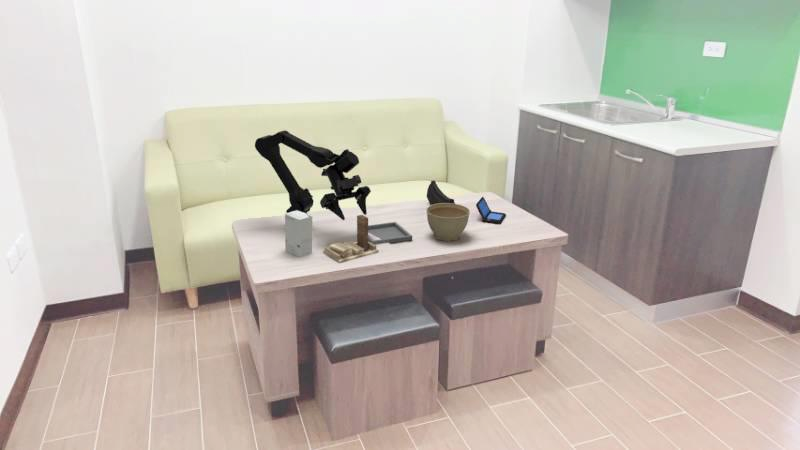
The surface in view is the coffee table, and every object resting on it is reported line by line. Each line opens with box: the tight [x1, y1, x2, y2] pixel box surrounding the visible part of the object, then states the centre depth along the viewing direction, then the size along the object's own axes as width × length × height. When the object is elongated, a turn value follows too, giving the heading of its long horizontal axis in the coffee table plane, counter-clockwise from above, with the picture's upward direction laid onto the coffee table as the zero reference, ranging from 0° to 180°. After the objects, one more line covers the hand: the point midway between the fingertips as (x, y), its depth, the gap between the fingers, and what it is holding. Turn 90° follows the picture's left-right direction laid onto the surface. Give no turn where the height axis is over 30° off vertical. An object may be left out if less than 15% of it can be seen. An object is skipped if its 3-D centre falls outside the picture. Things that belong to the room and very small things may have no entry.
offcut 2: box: [334, 251, 353, 259], centre depth 202 cm, size 4×7×2 cm, turn 42°
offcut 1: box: [329, 241, 352, 255], centre depth 201 cm, size 4×7×2 cm, turn 48°
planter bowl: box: [426, 203, 471, 242], centre depth 220 cm, size 16×16×11 cm
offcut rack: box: [322, 240, 379, 264], centre depth 204 cm, size 16×11×3 cm
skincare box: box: [284, 210, 313, 258], centre depth 202 cm, size 8×6×15 cm
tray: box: [368, 221, 413, 245], centre depth 221 cm, size 16×16×2 cm
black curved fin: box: [426, 180, 456, 206], centre depth 244 cm, size 17×3×30 cm
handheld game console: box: [475, 196, 507, 225], centre depth 241 cm, size 12×11×7 cm
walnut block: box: [356, 214, 369, 252], centre depth 205 cm, size 2×4×13 cm, turn 37°
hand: (355, 217), depth 207 cm, fingers open, 9 cm apart
